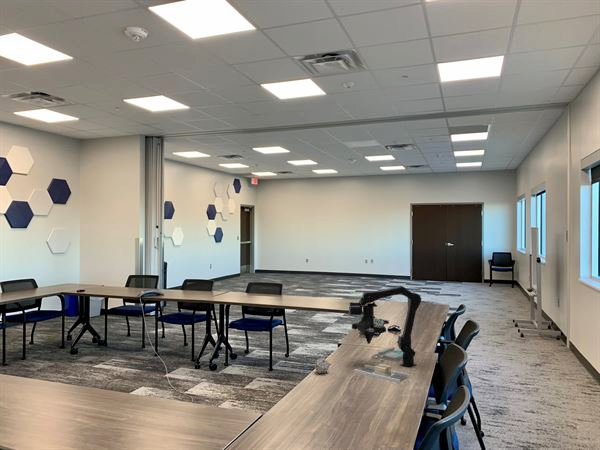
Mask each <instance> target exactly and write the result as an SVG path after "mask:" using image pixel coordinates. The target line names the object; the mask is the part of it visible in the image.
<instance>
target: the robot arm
mask: <svg viewBox="0 0 600 450" xmlns="http://www.w3.org/2000/svg"><path fill="white" fill-rule="evenodd" d="M397 295H398V296H399V295H402V296H404V297H405V298H407V311H406V312H407V313H406V317H405V322H404V327H403V332H402V334H401V335H398V336H397V337H398V338H397V341H396V343H397V346H398V349H399V350H400V351H402V352H403V359H402V363H401V364H400V366H401V367H407V368H413V367H416V366H417V363H415V360H414V359H415V355H416V351H415V350H414V349H413V348H412V333H413V327H414V323H415V318H416V314H417V310H418V308H419V307H420V305H421V302H422V296H421V295H420V294H419V293H416V292H412V291H410V290H408V289H407V288H405V286H403V285H398V286H395V287H390V288H386V289H381V290H366V291H364V292H363V293H362V297H361V298H360V300H359V301H358V302H353V301H351V302H349V307H348V312H349V315H350V316H360V315H361V314H362V317H361V320H359V321H357V322H354V323H352V325H351V329H352V330H357V331H360V332H361V333H362V334H363V336H364V337H365V340H366V343H367V344H368V345H370V344H371V341H372V340H373V337H374V335H375V334H376V333H377V334H383V333H386V332H387V327H386V326H384V325H377V326H376V323H375V321H374V320H375V318H376V316H374V313H375V312H374V307H375V308H377V307H378V305H377V303H375V302H376V301H378V300H380V299H383V298H388V297H393V296H397Z"/></svg>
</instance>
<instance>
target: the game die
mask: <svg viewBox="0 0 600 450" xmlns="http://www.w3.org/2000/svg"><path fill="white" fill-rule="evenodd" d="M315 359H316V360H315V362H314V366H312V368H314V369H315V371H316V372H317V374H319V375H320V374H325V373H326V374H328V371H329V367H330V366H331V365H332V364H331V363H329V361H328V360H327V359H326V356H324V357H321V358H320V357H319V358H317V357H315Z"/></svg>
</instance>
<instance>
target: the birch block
mask: <svg viewBox="0 0 600 450" xmlns="http://www.w3.org/2000/svg"><path fill="white" fill-rule="evenodd" d="M374 369H375V374H378V375H382V376H386V377H388V376H391V370H392V366H391V365H387V364H385V363H380V364H377V365H375V366H374Z"/></svg>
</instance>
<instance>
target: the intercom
mask: <svg viewBox="0 0 600 450" xmlns="http://www.w3.org/2000/svg"><path fill="white" fill-rule="evenodd" d="M395 349H396V348H395V347H394V346H388V347H386V348H383V349H379V350H378V353H375V354H372V355H371V359H374V360H383V359H384V360H385V361H389V362H394V363H396V362H397V363H398V362H400V361H403V352H402V351H401V349H398V350H397V349H396V350H395Z"/></svg>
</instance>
